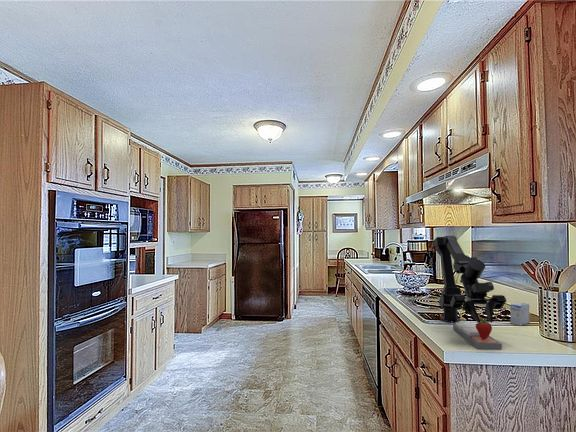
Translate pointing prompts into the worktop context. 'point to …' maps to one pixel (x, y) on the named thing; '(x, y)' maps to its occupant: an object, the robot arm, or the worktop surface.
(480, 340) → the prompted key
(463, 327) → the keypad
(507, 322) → the worktop surface
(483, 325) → the fruit
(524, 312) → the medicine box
